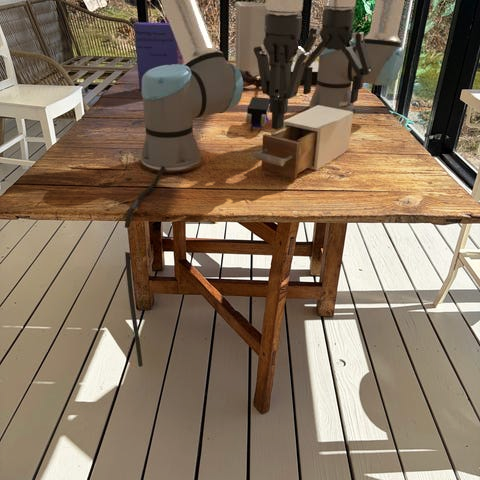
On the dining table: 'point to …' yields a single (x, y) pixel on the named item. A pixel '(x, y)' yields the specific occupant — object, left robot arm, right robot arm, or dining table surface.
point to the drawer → (288, 151)
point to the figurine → (250, 79)
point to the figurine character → (257, 112)
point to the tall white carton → (249, 34)
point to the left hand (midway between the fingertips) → (277, 127)
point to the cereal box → (155, 47)
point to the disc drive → (314, 72)
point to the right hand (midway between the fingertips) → (329, 97)
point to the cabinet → (325, 131)
